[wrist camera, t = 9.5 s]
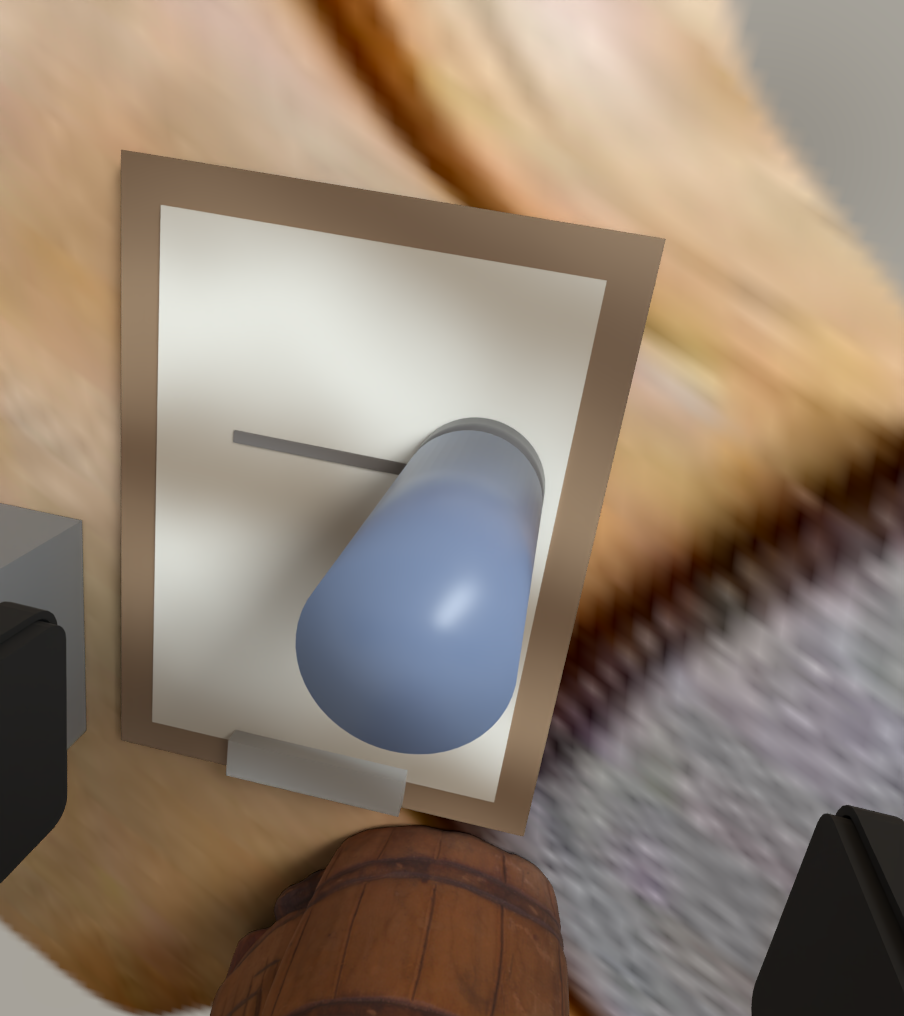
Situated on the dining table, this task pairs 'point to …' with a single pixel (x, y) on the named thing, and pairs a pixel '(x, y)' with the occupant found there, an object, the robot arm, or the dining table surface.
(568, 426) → the clipboard
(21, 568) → the button housing
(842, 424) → the dining table surface
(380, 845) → the wooden figurine
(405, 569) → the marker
